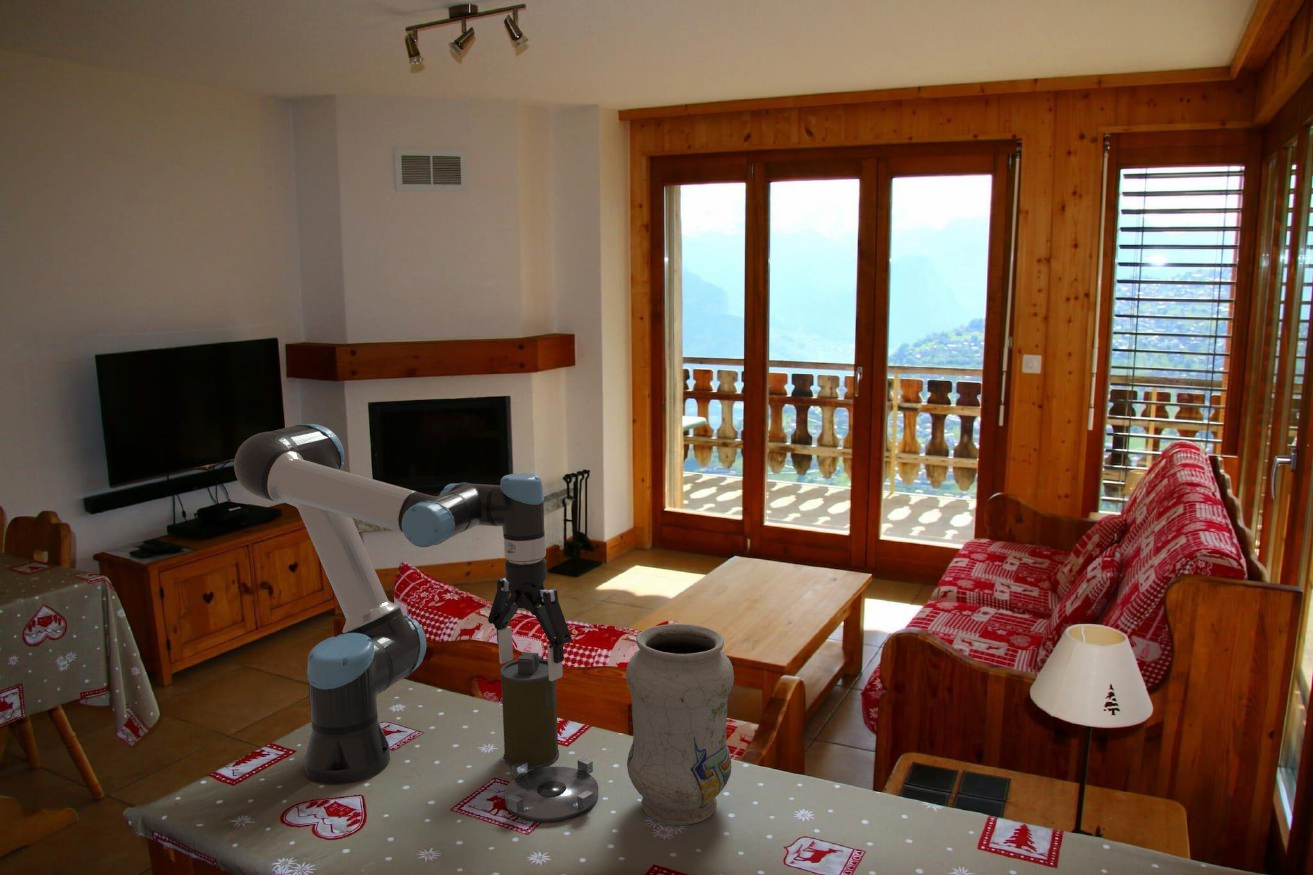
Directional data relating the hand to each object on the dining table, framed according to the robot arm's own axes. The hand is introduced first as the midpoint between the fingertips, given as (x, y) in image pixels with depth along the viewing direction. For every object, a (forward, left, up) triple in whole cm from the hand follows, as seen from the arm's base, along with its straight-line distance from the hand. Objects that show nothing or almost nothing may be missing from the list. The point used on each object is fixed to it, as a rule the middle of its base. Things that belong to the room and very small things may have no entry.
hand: (530, 669), depth 177 cm
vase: (+33, +4, -17) cm, 37 cm away
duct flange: (+14, -8, -17) cm, 23 cm away
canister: (0, 0, -17) cm, 17 cm away
